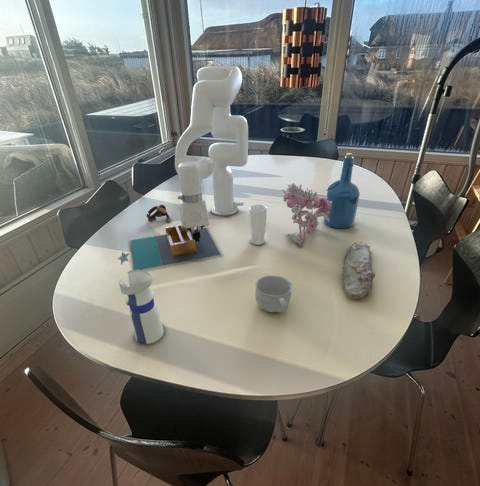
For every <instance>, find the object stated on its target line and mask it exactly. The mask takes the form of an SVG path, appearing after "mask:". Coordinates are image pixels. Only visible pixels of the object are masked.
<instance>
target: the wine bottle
mask: <svg viewBox="0 0 480 486" xmlns="http://www.w3.org/2000/svg"><path fill="white" fill-rule="evenodd" d="M354 162H355V157H354V154H353V153H351V152H346V154H345V156H344V158H343V161H342V163H341V166H342V167H341V173H340V178H339V179H338V180H336V181H334V182H333V183H331V184H330V185H329V186H328V187H327V188H326V191H327V192H326V197H328V199H327V200H328V201H332V204H331V206H332V207H331V209H329V208H328V209H329V211H330V213H329V215H328V216H327V217H328V218H329V222H328V220H326V219H325V218H324V217H323V222H324V224H326V225H327V226H328V227H330V228H331V227H332V228H334V229H347V228H351V227H352V226H353V225H354V224H355V220H356V216H357V211H358V204H359V200H360V195H361V194H360V190H359V187H358V186H357V185H356V184H354V183H352V175H353V167H354V165H355V164H354ZM327 200H325V201H327Z"/></svg>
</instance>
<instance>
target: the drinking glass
mask: <svg viewBox="0 0 480 486" xmlns="http://www.w3.org/2000/svg"><path fill="white" fill-rule="evenodd" d="M267 208H268V207H267V206H266V205H263V204H252V205H250V206H249V207H248V221H249V230H250V243H251V244H252V245H255V246H259V245H260V246H261V245H263V244H264V242H265V234H266V226H267V215H268V212H267V210H268V209H267Z"/></svg>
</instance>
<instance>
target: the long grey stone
mask: <svg viewBox="0 0 480 486" xmlns="http://www.w3.org/2000/svg"><path fill="white" fill-rule="evenodd" d="M370 248H371V246H370V245H368V244H367V243H366V242H363V241H357V242H356V241H355V242H353V243H352V244H351V245H350V246H349V248H348V250H347V253H346V255H345V256H344V257H345V262H344V266H343V268H342V269H343V270H342V281H343V283H342V285H343V289H344V292H345V294H346V296H347V297H348V298H350V299H353V300H362V299H364V298H365V297H366V296H369V295H370V292H371V290H372V289H373V281H374V278H375V277H376V273H375V272H374V271H372V268H371V267H372V260H373V259H372V251H371V249H370Z"/></svg>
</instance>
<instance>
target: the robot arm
mask: <svg viewBox="0 0 480 486" xmlns="http://www.w3.org/2000/svg"><path fill="white" fill-rule="evenodd" d="M196 78H197V79H196V80H197V82H196V83H194V85H193V88H192V99H191V100H192V101H191V107H190V108H191V109H190V121H189V126H188V127H187V128H186V129H185V130H184V131H183V133H182V134H181V136H180V137H179V138H178V141H177V144H176V146H175V155H174V170H175V171H176V173H177V174H178V178H179V186H180V194H179V195H177V200H180V203H179V204H180V205H179V211H180V214H179V215H180V221H181V224H182V226H181V228H182V229H183V230H189V231H191V232H192V237H193V240H195V242H197V241H198V242H199V241H200V240H199V238H201V237H200V232H201V230H202V229H203V228H206V227H207V226H209V225H210V223H209V212H208V207H207V203H206V199H205V198H204V197H203V190H202V189H203V188H202V180H205V179H207V178H209V177H210V176H211V177H212V191H213V206H212V207H211V208H210V209H211V212H212V214H213V215H215V216H224V217H227V216H232V215H234V214H236V213H237V212H238V207H241V206H244V204H245V203H244V201H240V200H235V197H234V196H235V195H234V174H233V172H232V170H231V168H230V167H239V168H241V167H244V166H246V165H247V164H248V160H249V124H248V120H247V118H246V117H244V116H243V115H235V114H231V106H232V104H233V102H234V101H235V99H236V97H237V95H238V94H239V92H240V90H241V87H242V83H243V75H242V71H241V70H240V68H239V67H238V66H235V65H221V66H220V65H211V66H203V67H201V68H199V69H198V70H197V73H196ZM209 133H211V137H213V139H215V140H224V141H235V142H214V143H212V144H211V145H210V146H209V147H208V152H207V153H208V157H207V156H198V155H187V154H188V149H189V147H190V145H191V144H192V143H193V142H195V140H197V139H199V138H201V137H203V136H205V135H207V134H209Z"/></svg>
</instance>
